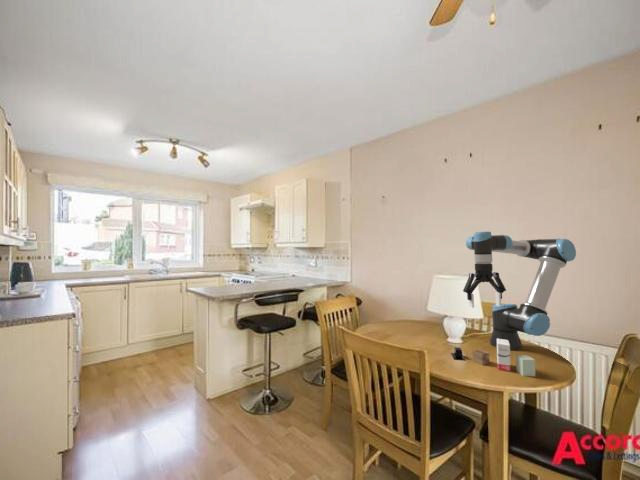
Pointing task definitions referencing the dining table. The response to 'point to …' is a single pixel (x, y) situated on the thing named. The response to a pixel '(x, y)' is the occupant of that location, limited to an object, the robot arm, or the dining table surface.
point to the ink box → (503, 355)
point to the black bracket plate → (458, 354)
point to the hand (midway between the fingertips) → (485, 306)
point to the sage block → (525, 365)
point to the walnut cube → (481, 357)
